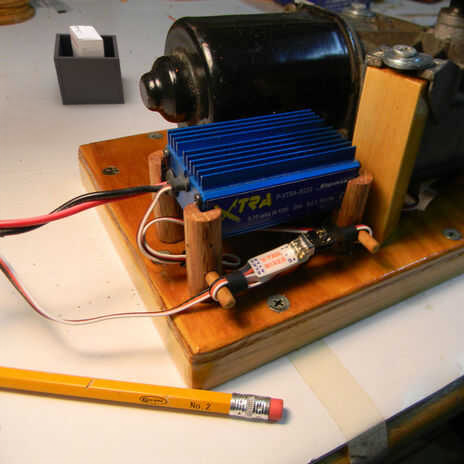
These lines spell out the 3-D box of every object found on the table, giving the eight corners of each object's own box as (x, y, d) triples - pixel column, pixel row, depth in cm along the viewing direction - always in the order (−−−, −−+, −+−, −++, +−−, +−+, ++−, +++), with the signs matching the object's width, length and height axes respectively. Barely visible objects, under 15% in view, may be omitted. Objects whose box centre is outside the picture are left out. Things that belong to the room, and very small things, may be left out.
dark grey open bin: (62, 104, 99) (53, 57, 92) (64, 77, 108) (55, 33, 102) (124, 103, 103) (119, 58, 97) (120, 77, 113) (115, 35, 106)
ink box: (110, 93, 104) (103, 38, 96) (86, 96, 101) (76, 39, 94) (99, 77, 109) (92, 24, 101) (76, 79, 106) (66, 24, 99)
